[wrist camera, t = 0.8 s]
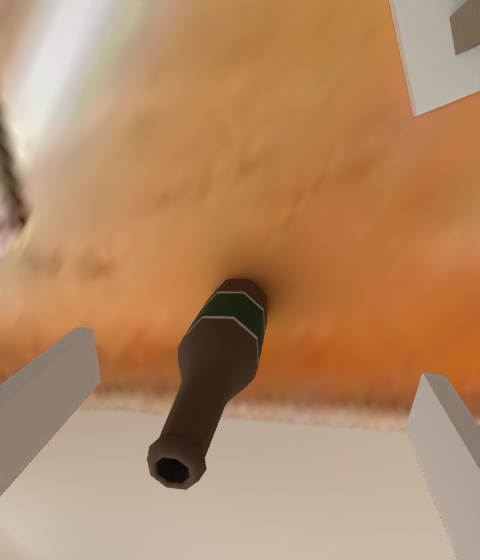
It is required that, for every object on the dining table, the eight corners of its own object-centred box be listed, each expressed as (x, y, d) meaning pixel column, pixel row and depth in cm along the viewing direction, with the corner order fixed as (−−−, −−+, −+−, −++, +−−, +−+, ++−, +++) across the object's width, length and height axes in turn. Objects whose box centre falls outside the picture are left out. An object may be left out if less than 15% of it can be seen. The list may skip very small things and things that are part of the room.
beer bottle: (254, 266, 39) (196, 406, 17) (279, 319, 41) (258, 508, 19) (200, 289, 41) (86, 438, 19) (226, 338, 43) (152, 525, 21)
